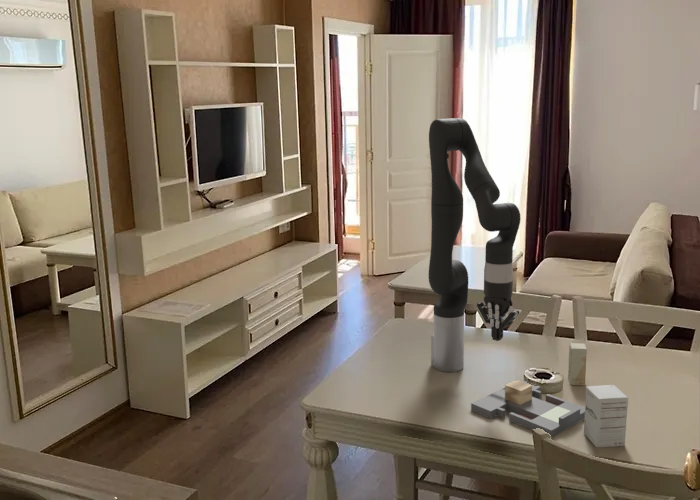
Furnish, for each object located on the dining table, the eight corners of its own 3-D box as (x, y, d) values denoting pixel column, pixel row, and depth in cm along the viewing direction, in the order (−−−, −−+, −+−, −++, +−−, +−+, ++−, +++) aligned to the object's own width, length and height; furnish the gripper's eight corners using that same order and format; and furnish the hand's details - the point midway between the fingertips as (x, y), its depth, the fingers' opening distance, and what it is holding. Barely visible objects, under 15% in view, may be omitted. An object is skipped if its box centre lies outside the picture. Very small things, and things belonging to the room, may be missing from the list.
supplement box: (582, 433, 170) (585, 385, 168) (611, 431, 171) (614, 383, 168) (595, 448, 163) (598, 398, 160) (625, 446, 164) (629, 396, 161)
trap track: (471, 410, 184) (471, 398, 183) (521, 386, 198) (521, 375, 197) (545, 441, 167) (545, 428, 166) (594, 413, 181) (595, 400, 180)
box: (585, 386, 197) (587, 349, 195) (569, 385, 198) (571, 348, 195) (583, 378, 202) (584, 343, 200) (567, 377, 203) (569, 342, 200)
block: (504, 399, 186) (505, 385, 185) (516, 393, 189) (516, 379, 188) (520, 405, 182) (520, 390, 181) (531, 399, 185) (532, 385, 184)
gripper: (527, 280, 181) (525, 342, 185) (487, 271, 191) (486, 330, 195) (510, 285, 176) (508, 349, 180) (469, 276, 186) (469, 337, 190)
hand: (496, 339), depth 188 cm, fingers closed
